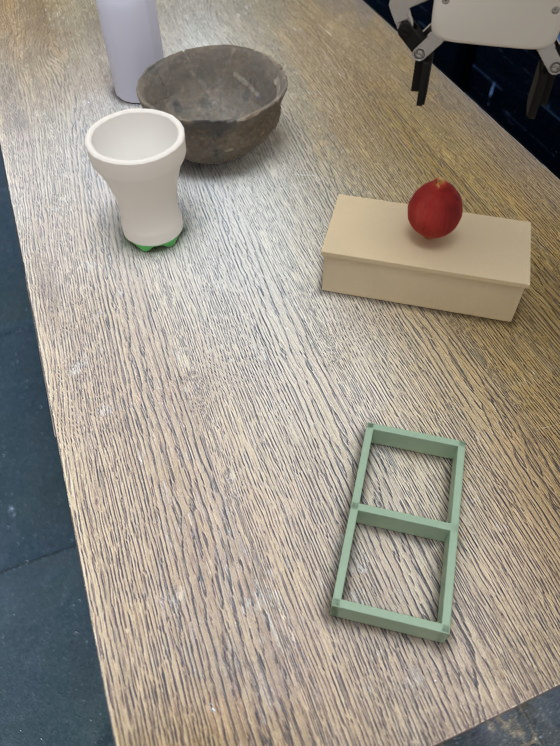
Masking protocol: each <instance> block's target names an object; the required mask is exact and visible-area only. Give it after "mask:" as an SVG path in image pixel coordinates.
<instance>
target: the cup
mask: <svg viewBox="0 0 560 746" xmlns="http://www.w3.org/2000/svg"><path fill="white" fill-rule="evenodd" d="M84 147H85V150H86V153H87V156H88V159H89V160H88V161H89V162H90V164H91V166H92V168H93V169H94V171H96V173H97V174H98V175H99V176H100V177H102V178H103V180H104V182H105V183H106V184H107V186H108V188H109V190H110V191H111V192H112V194H113V196H114V198H115V201H116V203H117V207H118V209H119V212H120V225H121V229H122V232H123V235H124V238H125V239H126V240H127V241H129V242H130V243H132V244H134V245H135V246H136V247H138V249H140V250H141V251H142V252H148V251H149V252H150V251H151V250H152V249H153V248H155V247H159V246H164V247H168V248H170V247H173V246H175V243H176V241H177V239H178V238H179V236H180V234H181V232H182V231H183V229H184V220H183V214H182V213H183V212H182V210H181V208H180V205H179V201H178V184H179V183H178V182H179V177H180V170H181V167H182V164H183V162H184V161H185V159H184V158H185V154H186V143H185V133H184V127H183V126H182V124H181V122H180V121H179V120H178V119H177V118H175V117H174V116H173V115H171V114H168V113H166V112H163V111H159V110H154V109H143V108H140V107H138V108H127V109H126V108H125V109H123V110H118V111H115V112H113V113H110V114H107V115H104V117H102V118H100V119H98V120H97V121H96V122H94V123H93V124H92V125H91V126H90V127H89V128H88V129H87V131H86V133H85V135H84Z"/></svg>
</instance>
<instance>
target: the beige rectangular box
mask: <svg viewBox="0 0 560 746" xmlns="http://www.w3.org/2000/svg"><path fill="white" fill-rule="evenodd" d="M408 204H409V203H405V202H404V203H403V202H397V201H389V200H382V199H376V198H369V197H363V196H356V195H349V194H342V193H338V195H337V198H336V200H335V205H334V209H333V211H332V214H331V218H330V221H329V224H328V228H327V231H326V234H325V237H324V241H323V243H322V247H321V250H320V256H323V263H322V264H323V265H322V278H321V279H322V280H321V281H322V283H321V291H326V292H330V293H338V294H344V295H349V296H355V297H360V298H367V299H372V300H377V301H378V300H379V301H383V302H384V301H385V302H390V303H395V304H402V305H407V306H414V307H419V308H425V309H431V310H438V311H443V312H449V313H454V314H455V313H456V314H460V315H467V316H471V317H472V316H473V317H479V318H484V319H490V320H495V321H496V320H497V321H503V322H508V323H511V322H512V321H513V318H514V316H515V313H516V311H517V309H518V306H519V304H520V302H521V300H522V299H521V298H522V297H523V295H524V292H525V289H529V288H530V287H531V264H532V263H531V262H532V261H531V259H532V258H531V254H532V251H531V250H532V222H531V221H527V220H520V219H513V218H507V217H506V218H505V217H500V216H492V215H485V214H478V213H471V212H465V211H463V213H462V217H461V220H460V222H459V223H458V225H457V227H456V228H455V229H454V230H453V231H452V232H451V233H449V234H448V235H446V236H444V237H441V238H435V239H426V238H425V237H424V236H422V235H421V234H419V233H417V232H416V231H415V230H414V229H413V228H412V226H411V225H410V223H409V220H408Z"/></svg>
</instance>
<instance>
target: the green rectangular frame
mask: <svg viewBox="0 0 560 746" xmlns="http://www.w3.org/2000/svg"><path fill="white" fill-rule="evenodd" d="M364 433H365V434H364V436H363V442H362V447H361V452H360V456H359V463H358V467H357V472H356V477H355V481H354V482H355V483H354V488H353V493H352V497H351V502H350V508H349V513H348V518H347V524H346V528H345V534H344V538H343V543H342V549H341V554H340V559H339V562H338V569H337V574H336V579H335V583H334V584H335V585H334V589H333V594H332V599H331V604H330V609H329V616H331V617H336V618H340V619H344V620H348V621H352V622H356V623H361V624H365V625H368V626H371V627H372V626H373V627H376V628H380V629H385V630H388V631H393V632H395V633H396V632H397V633H401V634H405V635H409V636H412V637H416V638H421V639H424V640H429V641H434V642H437V643H441V644H444V643H445V642H446V640H447V639H448V637H449V636H450V634H451V624H452V623H451V622H452V611H453V601H454V588H455V574H456V564H457V553H458V540H459V530H460V529H459V528H460V518H461V517H460V515H461V506H462V505H461V504H462V493H463V482H464V469H465V458H466V457H465V456H466V445H467V444H466V443H467V442H466V441H464V440H459V439H454V438H449V437H444V436H439V435H436V434H435V435H434V434H429V433H424V432H419V431H415V430H414V431H413V430H408V429H404V428H398V427H394V426H389V425H385V424H379V423H374V422H371V421H370V422H369V421H367V422H366V427H365V432H364ZM371 444H376V445H381V446H386V447H391V448H395V449H400V450H405V451H409V452H415V453H419V454H425V455H429V456H434V457H440V458H444V459H449V460H450V459H451V460H452V463H451V473H450V482H449V493H448V503H447V515H446V521H443V520H439V519H433V518H428V517H423V516H420V515H414V514H409V513H405V512H401V511H396V510H391V509H388V508H384V507H379V506H373V505H370V504H369V505H368V504H364V503H360V502H361V497H362V492H363V487H364V481H365V476H366V472H367V471H366V470H367V465H368V460H369V455H370V449H371ZM356 524H362V525H366V526H371V527H375V528H379V529H383V530H388V531H394V532H398V533H402V534H406V535H411V536H414V537H415V536H416V537H420V538H423V539H424V538H425V539H429V540H433V541H437V542H443V543H444V546H443V556H442V565H441V575H440V576H441V577H440V585H439V586H440V587H439V596H438V597H439V598H438V608H437V609H438V610H437V617H436V621H433V620H429V619H425V618H421V617H417V616H412V615H409V614H404V613H400V612H396V611H392V610H387V609H384V608H380V607H375V606H371V605H367V604H362V603H360V602H359V603H358V602H355V601H351V600H346V599H343V593H344V587H345V582H346V577H347V571H348V568H349V567H348V566H349V562H350V561H349V560H350V556H351V552H352V551H351V550H352V545H353V539H354V534H355V530H356Z"/></svg>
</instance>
